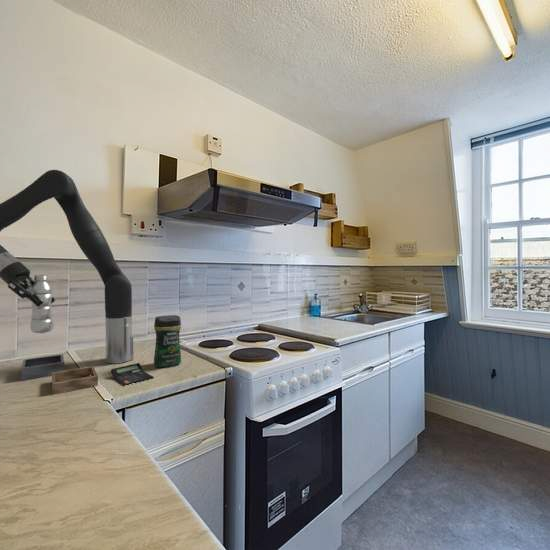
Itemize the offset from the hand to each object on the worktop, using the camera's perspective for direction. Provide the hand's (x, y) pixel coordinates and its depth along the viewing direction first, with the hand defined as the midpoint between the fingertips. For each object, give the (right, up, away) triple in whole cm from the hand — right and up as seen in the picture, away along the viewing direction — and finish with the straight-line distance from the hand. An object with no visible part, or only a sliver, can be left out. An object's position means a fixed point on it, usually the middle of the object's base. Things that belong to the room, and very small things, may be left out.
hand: (47, 303), depth 109 cm
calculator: (+31, -25, -4) cm, 40 cm away
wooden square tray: (+16, -25, -9) cm, 31 cm away
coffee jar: (+38, -24, +10) cm, 47 cm away
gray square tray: (-2, -24, +1) cm, 24 cm away
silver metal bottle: (-2, -10, 0) cm, 11 cm away
